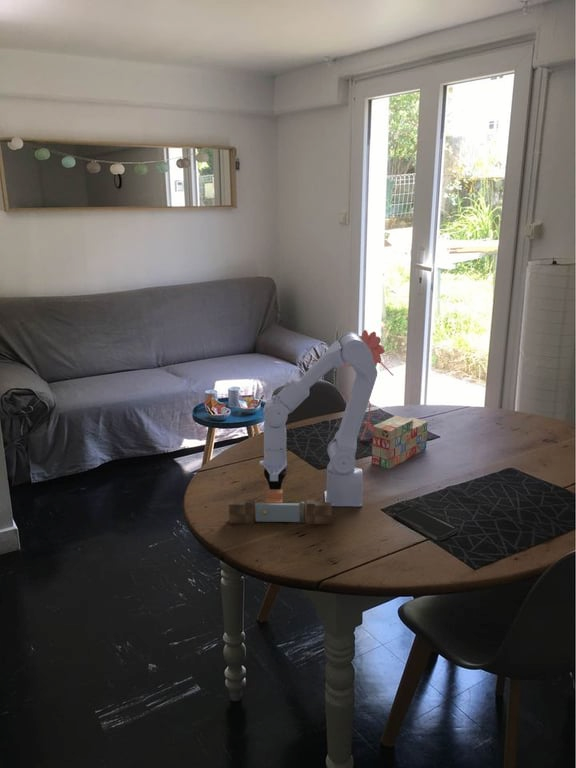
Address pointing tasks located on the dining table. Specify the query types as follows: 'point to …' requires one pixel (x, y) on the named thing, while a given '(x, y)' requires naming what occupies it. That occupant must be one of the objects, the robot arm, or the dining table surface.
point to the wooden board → (245, 512)
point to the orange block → (274, 496)
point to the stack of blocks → (397, 440)
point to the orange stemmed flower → (376, 350)
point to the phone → (425, 522)
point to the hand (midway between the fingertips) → (275, 494)
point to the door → (280, 512)
